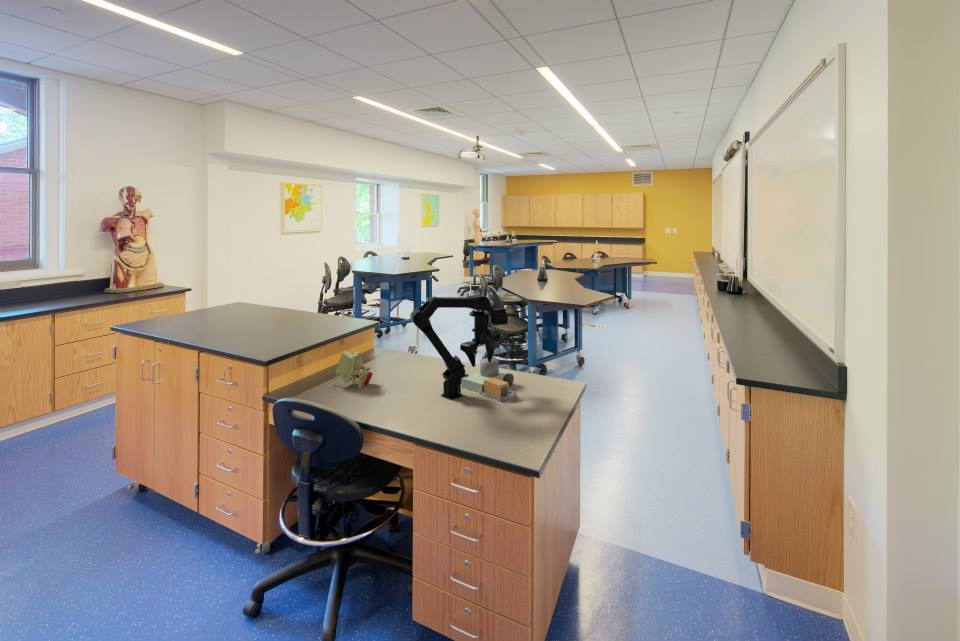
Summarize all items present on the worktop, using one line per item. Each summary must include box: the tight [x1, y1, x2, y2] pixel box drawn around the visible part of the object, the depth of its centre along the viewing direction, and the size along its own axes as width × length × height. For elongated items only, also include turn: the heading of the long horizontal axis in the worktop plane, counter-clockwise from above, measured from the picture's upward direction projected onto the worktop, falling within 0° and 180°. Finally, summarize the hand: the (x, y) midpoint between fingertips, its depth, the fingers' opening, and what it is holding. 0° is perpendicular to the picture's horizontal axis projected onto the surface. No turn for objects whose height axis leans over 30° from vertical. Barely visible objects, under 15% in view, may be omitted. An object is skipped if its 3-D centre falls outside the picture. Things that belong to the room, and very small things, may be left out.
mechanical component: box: [332, 350, 373, 389], centre depth 209 cm, size 8×17×20 cm, turn 90°
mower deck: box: [460, 357, 515, 393], centre depth 208 cm, size 18×15×10 cm
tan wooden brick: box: [484, 377, 510, 397], centre depth 196 cm, size 5×9×6 cm, turn 43°
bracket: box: [478, 390, 518, 403], centre depth 197 cm, size 9×12×2 cm
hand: (481, 364), depth 198 cm, fingers open, 9 cm apart
